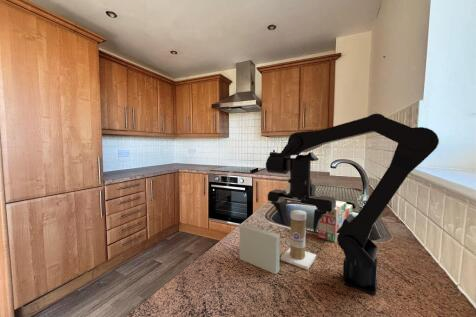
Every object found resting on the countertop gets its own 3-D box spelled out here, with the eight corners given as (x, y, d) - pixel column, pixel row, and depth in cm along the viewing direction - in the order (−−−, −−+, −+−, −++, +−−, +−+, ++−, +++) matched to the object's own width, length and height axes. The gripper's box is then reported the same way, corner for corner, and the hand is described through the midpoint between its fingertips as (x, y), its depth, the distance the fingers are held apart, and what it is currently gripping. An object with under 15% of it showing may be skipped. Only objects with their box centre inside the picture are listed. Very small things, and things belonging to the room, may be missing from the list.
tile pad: (316, 257, 60) (316, 254, 60) (307, 269, 53) (307, 267, 53) (291, 248, 65) (291, 246, 65) (280, 259, 58) (280, 257, 58)
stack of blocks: (337, 222, 89) (337, 195, 88) (352, 226, 84) (353, 197, 84) (317, 237, 73) (318, 205, 73) (335, 243, 69) (336, 208, 68)
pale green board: (279, 270, 53) (279, 234, 53) (276, 274, 51) (276, 237, 51) (243, 255, 60) (243, 224, 60) (239, 258, 59) (239, 226, 58)
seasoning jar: (289, 258, 57) (290, 213, 57) (289, 250, 62) (290, 208, 61) (306, 260, 56) (306, 215, 55) (305, 252, 61) (305, 210, 60)
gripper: (340, 175, 58) (338, 226, 59) (282, 171, 70) (281, 214, 71) (332, 180, 50) (330, 240, 50) (266, 174, 61) (266, 223, 62)
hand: (299, 227), depth 59 cm, fingers open, 9 cm apart
